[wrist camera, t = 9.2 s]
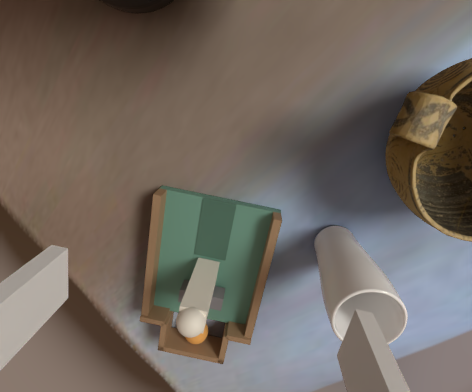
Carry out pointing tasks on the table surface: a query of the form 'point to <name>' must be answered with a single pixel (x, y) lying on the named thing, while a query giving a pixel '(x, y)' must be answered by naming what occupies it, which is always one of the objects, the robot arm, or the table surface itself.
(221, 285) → the pitch
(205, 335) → the ball
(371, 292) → the drinking glass
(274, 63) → the table surface
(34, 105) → the table surface
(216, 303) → the striker
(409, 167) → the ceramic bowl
